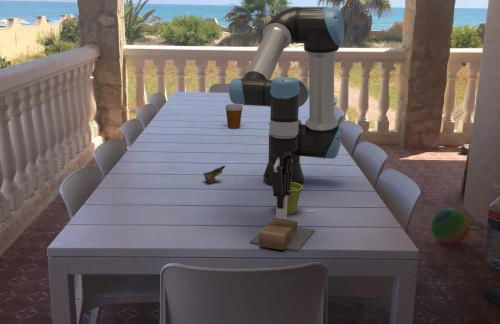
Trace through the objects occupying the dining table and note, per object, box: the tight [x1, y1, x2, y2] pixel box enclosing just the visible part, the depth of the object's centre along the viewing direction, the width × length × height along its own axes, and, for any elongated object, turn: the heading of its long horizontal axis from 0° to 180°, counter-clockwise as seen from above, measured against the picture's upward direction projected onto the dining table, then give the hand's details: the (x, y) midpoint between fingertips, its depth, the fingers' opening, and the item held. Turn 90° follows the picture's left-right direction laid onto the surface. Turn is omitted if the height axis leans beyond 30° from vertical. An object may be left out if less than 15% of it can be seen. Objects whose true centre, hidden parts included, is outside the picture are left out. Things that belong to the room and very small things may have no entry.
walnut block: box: [258, 217, 298, 251], centre depth 165 cm, size 4×7×12 cm
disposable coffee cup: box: [224, 103, 244, 130], centre depth 316 cm, size 10×10×12 cm
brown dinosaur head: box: [203, 165, 226, 184], centre depth 219 cm, size 8×6×7 cm
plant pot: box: [286, 182, 303, 215], centre depth 189 cm, size 9×9×9 cm
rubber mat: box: [249, 226, 316, 252], centre depth 169 cm, size 16×14×1 cm
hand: (281, 218), depth 165 cm, fingers closed
